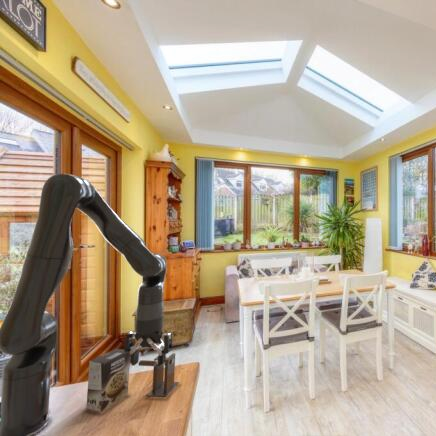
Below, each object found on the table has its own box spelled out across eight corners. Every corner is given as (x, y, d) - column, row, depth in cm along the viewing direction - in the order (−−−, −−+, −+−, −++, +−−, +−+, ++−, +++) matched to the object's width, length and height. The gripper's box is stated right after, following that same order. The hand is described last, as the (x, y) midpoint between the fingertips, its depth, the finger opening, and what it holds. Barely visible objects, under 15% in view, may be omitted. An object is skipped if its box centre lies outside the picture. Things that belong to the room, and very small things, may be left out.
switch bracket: (165, 399, 90) (167, 362, 90) (145, 398, 90) (147, 361, 90) (179, 385, 98) (180, 351, 98) (160, 384, 98) (162, 350, 98)
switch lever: (152, 368, 83) (155, 359, 84) (137, 367, 83) (139, 358, 84) (172, 365, 94) (174, 357, 95) (159, 364, 94) (161, 356, 95)
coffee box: (101, 415, 82) (104, 363, 82) (85, 411, 83) (88, 360, 83) (129, 396, 90) (131, 350, 91) (114, 393, 92) (116, 347, 92)
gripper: (119, 318, 81) (116, 370, 81) (164, 320, 81) (162, 372, 81) (136, 310, 89) (134, 357, 88) (178, 312, 89) (176, 359, 88)
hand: (147, 364), depth 85 cm, fingers open, 8 cm apart
